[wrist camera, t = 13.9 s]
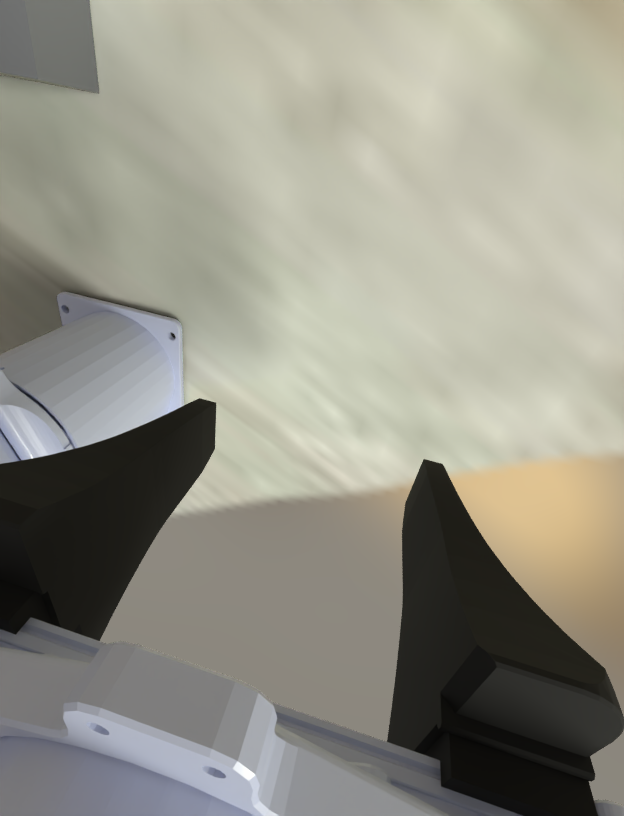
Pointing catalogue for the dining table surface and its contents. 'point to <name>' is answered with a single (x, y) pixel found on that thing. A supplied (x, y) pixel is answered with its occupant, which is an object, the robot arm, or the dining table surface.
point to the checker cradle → (48, 42)
